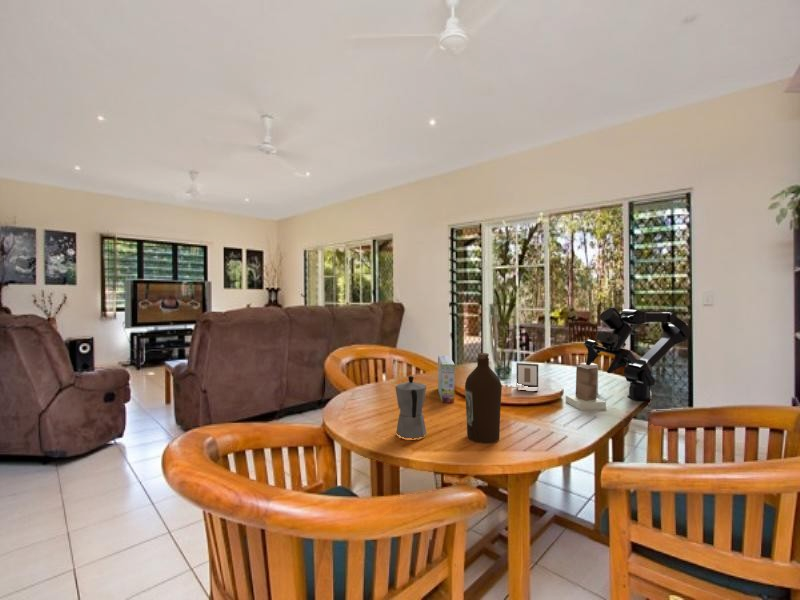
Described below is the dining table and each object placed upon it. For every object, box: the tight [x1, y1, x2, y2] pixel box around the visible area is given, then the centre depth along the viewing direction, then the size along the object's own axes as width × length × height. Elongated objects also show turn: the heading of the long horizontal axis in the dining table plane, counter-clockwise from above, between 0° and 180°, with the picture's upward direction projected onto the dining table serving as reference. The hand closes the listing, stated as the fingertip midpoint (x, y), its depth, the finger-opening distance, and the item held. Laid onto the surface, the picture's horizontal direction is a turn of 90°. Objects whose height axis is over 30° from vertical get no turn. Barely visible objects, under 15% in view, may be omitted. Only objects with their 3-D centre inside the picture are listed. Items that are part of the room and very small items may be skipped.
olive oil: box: [464, 352, 503, 444], centre depth 115 cm, size 11×11×25 cm
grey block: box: [579, 362, 599, 395], centre depth 164 cm, size 5×5×12 cm
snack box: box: [437, 355, 456, 403], centre depth 161 cm, size 21×6×15 cm, turn 179°
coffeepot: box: [395, 375, 427, 439], centre depth 116 cm, size 15×9×18 cm, turn 6°
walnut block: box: [575, 364, 598, 401], centre depth 146 cm, size 5×5×12 cm
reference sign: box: [516, 362, 539, 388], centre depth 169 cm, size 6×9×11 cm, turn 71°
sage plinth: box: [565, 394, 607, 411], centre depth 146 cm, size 10×10×3 cm
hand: (597, 369), depth 147 cm, fingers open, 9 cm apart
